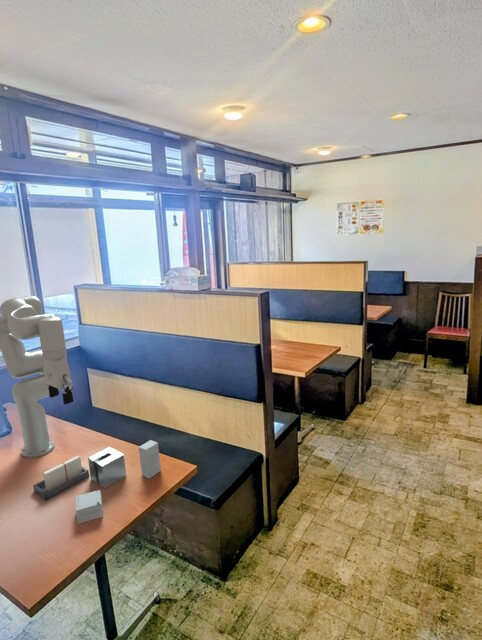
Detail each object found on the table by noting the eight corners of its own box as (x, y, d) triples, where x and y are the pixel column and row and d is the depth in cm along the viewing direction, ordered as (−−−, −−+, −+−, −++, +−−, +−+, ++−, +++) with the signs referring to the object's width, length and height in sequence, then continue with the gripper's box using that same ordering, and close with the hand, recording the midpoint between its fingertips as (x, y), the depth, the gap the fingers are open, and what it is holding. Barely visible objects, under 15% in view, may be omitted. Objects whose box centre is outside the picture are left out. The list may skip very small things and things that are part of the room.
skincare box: (153, 467, 151) (150, 439, 148) (161, 471, 148) (158, 442, 146) (141, 475, 146) (138, 446, 143) (149, 479, 144) (146, 450, 141)
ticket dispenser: (91, 479, 145) (88, 457, 143) (112, 467, 152) (109, 446, 150) (105, 488, 139) (102, 466, 137) (126, 475, 146) (123, 454, 144)
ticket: (46, 490, 139) (43, 472, 137) (80, 471, 149) (77, 455, 147) (48, 491, 138) (45, 474, 136) (82, 473, 148) (80, 456, 146)
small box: (77, 509, 130) (75, 495, 129) (102, 502, 133) (100, 489, 131) (77, 524, 123) (75, 510, 122) (103, 517, 126) (101, 503, 124)
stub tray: (34, 491, 139) (33, 485, 139) (77, 468, 152) (76, 463, 151) (45, 500, 134) (44, 494, 134) (89, 476, 147) (88, 470, 146)
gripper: (31, 352, 136) (39, 397, 140) (56, 361, 126) (63, 409, 130) (52, 346, 142) (59, 390, 146) (78, 354, 132) (84, 401, 136)
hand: (61, 399), depth 138 cm, fingers open, 9 cm apart
